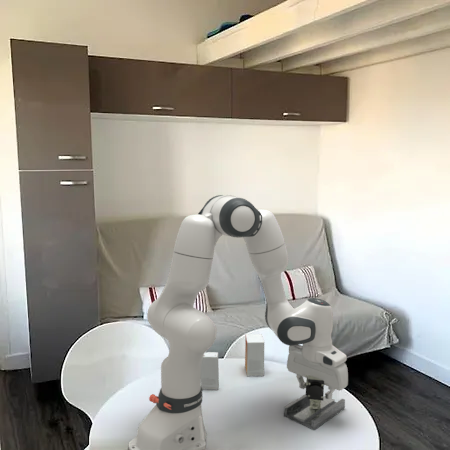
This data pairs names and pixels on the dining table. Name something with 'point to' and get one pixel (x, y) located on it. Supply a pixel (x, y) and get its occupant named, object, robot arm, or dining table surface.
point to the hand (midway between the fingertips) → (315, 393)
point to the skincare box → (210, 371)
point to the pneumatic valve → (314, 391)
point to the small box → (254, 354)
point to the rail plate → (312, 411)
